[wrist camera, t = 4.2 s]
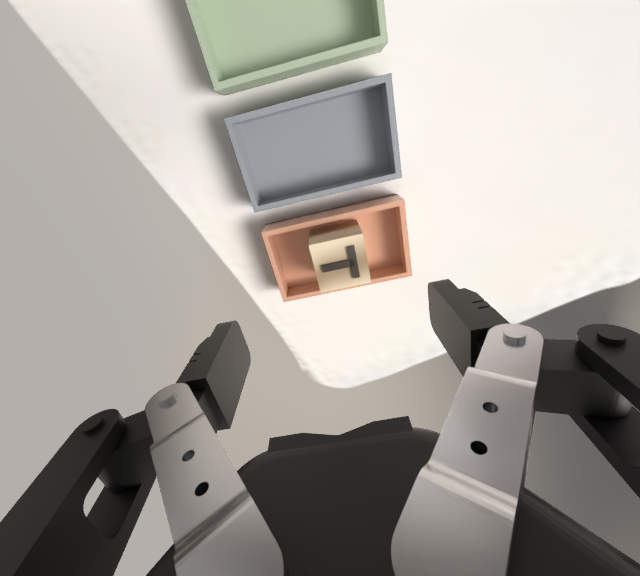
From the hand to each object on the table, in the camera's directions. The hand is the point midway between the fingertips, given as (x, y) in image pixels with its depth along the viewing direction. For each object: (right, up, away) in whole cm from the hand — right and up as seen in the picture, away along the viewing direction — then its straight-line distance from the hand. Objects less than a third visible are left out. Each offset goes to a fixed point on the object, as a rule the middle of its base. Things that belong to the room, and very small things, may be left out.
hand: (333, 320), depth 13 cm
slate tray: (-1, +15, +16) cm, 22 cm away
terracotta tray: (+1, +6, +21) cm, 22 cm away
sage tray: (-3, +23, +12) cm, 27 cm away
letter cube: (+1, +6, +20) cm, 21 cm away
